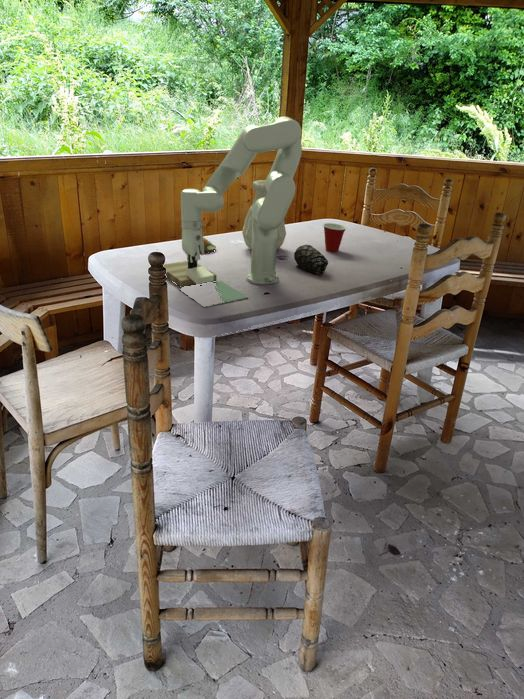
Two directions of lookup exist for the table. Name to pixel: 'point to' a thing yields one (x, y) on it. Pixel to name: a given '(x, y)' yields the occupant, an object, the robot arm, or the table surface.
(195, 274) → the tile
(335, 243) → the plastic cup
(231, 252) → the table surface
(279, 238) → the vase
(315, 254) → the pine cone
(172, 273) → the wooden board
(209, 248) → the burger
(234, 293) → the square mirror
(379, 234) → the table surface
